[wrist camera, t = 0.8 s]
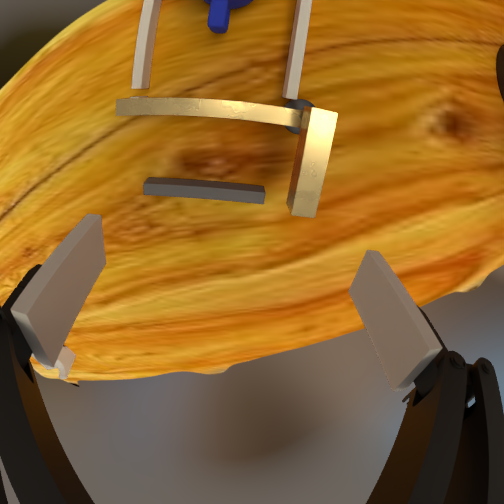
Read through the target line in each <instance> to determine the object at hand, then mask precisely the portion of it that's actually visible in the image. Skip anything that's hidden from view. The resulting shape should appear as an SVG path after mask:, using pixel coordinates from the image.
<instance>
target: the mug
mask: <svg viewBox="0 0 504 504" xmlns="http://www.w3.org/2000/svg"><path fill="white" fill-rule="evenodd" d="M204 1H205V2H206V3H208V4H209V5H210V10H209V16H208V27H209V28H210V30H211V31H212V32H214V33H226V32H227V29H228V24H229V17H230V9H237V8H240V7H243V6H245V5H247V4H249V3H250V2H252V1H253V0H204Z"/></svg>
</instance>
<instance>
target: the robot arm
mask: <svg viewBox="0 0 504 504" xmlns="http://www.w3.org/2000/svg"><path fill="white" fill-rule="evenodd" d="M497 77H498V83H499V87H500V91H501V94H502V97H503V100H504V45H503V46H502V47H501V48H500V50H499V53H498V57H497ZM105 264H106V259H105V251H104V242H103V232H102V219H101V215H96V214H87V215H86V216H85V217H84V218H83V219H82V220H81V221H80V222H79V223H78V224H77V225H76V227H75V228H74V229H73V230H72V231H71V232H70V233H69V234H68V235H67V236H66V238H65V239H64V240H63V241H62V242H61V243H60V244H59V246H58V247H57V248H56V249H55V250H54V252H53V253H52V254H51V255H50V256H49V258H48V259H47V260H46V261H45V263H44V264H43V265H40V264H38V265H36V266H35V267H33V268H32V269H30V270H29V271H28V272H27V274H26V275H25V276H24V277H23V279H22V281H20V283H19V284H18V285H17V287H16V288H15V289H14V291H13V292H12V293H11V295H10V296H9V298H8V299H7V300H6V302H5V303H4V305H3V306H2V308H1V306H0V456H1V459H2V462H3V465H4V468H5V470H6V473H7V475H8V478H9V480H10V482H11V485H12V487H13V489H14V492H15V493H16V496H17V498H18V500H19V502H20V504H95V503H94V502H93V500H92V499H91V497H90V496H89V494H88V493H87V491H86V490H85V488H84V486H83V485H82V483H81V481H80V480H79V478H78V476H77V474H76V472H75V471H74V469H73V467H72V465H71V463H70V461H69V460H68V458H67V456H66V454H65V452H64V450H63V447H62V445H61V443H60V441H59V439H58V437H57V435H56V432H55V430H54V427H53V425H52V423H51V420H50V418H49V415H48V413H47V410H46V407H45V405H44V402H43V399H42V396H41V393H40V390H39V388H38V384H37V381H36V378H35V374H34V370H33V367H32V364H31V362H30V360H29V359H30V357H31V355H32V353H33V354H34V356H35V358H36V360H37V361H38V362H39V363H42V364H45V365H48V366H50V367H53V368H54V365H55V363H56V361H57V358H58V356H59V354H60V351H61V349H62V347H63V345H64V343H65V340H66V338H67V336H68V334H69V332H70V330H71V328H72V326H73V323H74V321H75V319H76V317H77V315H78V313H79V311H80V310H81V308H82V306H83V304H84V302H85V300H86V298H87V296H88V294H89V293H90V291H91V289H92V287H93V285H94V283H95V282H96V280H97V278H98V276H99V275H100V273H101V271H102V269H103V268H104V266H105ZM349 293H350V296H351V298H352V300H353V302H354V304H355V306H356V308H357V310H358V313H359V315H360V317H361V319H362V321H363V323H364V326H365V328H366V330H367V332H368V335H369V337H370V339H371V341H372V344H373V346H374V348H375V351H376V353H377V355H378V358H379V360H380V362H381V365H382V367H383V370H384V372H385V374H386V377H387V380H388V382H389V385H390V387H391V390H392V391H393V392H394V391H400V390H405V389H406V388H407V387H408V386H409V385H410V384H411V383H412V382H413V381H414V383H415V385H416V387H415V388H414V389H413V390H412V391H411V392H410V393H409V394H408V395H407V396H406V397H405V398H404V399H403V400H402V402H405V401H406V400H407V399H408V398H410V399H409V402H408V403H407V408H406V412H405V415H404V418H403V421H402V424H401V426H400V429H399V432H398V435H397V437H396V440H395V443H394V445H393V448H392V450H391V452H390V455H389V457H388V460H387V462H386V464H385V466H384V469H383V471H382V473H381V475H380V477H379V480H378V481H377V483H376V485H375V487H374V489H373V491H372V493H371V495H370V497H369V499H368V501H367V503H366V504H504V414H503V407H502V402H501V396H500V391H499V386H498V382H497V377H496V374H495V370H494V367H493V366H492V364H491V362H490V361H489V360H487V359H485V358H479V359H478V360H477V361H476V362H475V363H474V364H473V365H472V364H467V363H466V362H465V360H464V358H463V357H462V356H461V355H460V354H458V353H457V352H455V351H448V350H447V348H446V347H445V345H444V343H443V342H442V340H441V338H440V337H439V335H438V333H437V332H436V330H435V329H434V327H433V325H432V323H430V320H429V319H428V317H427V316H426V314H425V313H424V312H423V311H422V310H421V309H420V308H419V307H418V306H417V305H416V304H415V302H414V301H413V299H412V298H411V296H410V295H409V293H408V292H407V290H406V289H405V287H404V286H403V284H402V283H401V282H400V280H399V279H398V277H397V276H396V274H395V273H394V272H393V270H392V269H391V267H390V266H389V265H388V263H387V262H386V261H385V259H384V258H383V257H382V255H381V254H380V252H378V251H372V250H367V251H366V253H365V256H364V258H363V260H362V263H361V265H360V267H359V269H358V272H357V274H356V276H355V278H354V280H353V283H352V285H351V287H350V289H349ZM474 397H475V403H474V404H473V405H472V406H471V407H469V408H468V402H469V401H471V400H472V398H474ZM0 504H8V501H7V498H6V494H5V490H4V486H3V481H2V476H1V471H0Z"/></svg>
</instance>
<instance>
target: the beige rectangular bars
mask: <svg viewBox="0 0 504 504" xmlns="http://www.w3.org/2000/svg"><path fill="white" fill-rule="evenodd" d="M161 2H162V0H144V3H143V8H142V13H141V19H140V24H139V30H138V36H137V43H136V50H135V58H134V67H133V76H132V87H131V89H142V88H149V83H150V73H151V64H152V56H153V49H154V42H155V35H156V29H157V23H158V18H159V12H160V7H161ZM311 5H312V0H297V3H296V10H295V16H294V23H293V29H292V36H291V42H290V49H289V55H288V62H287V68H286V74H285V81H284V87H283V93H282V97H283V98H289V99H295V100H297V95H298V89H299V83H300V77H301V71H302V64H303V58H304V52H305V45H306V39H307V32H308V25H309V19H310V12H311ZM146 97H148V96H137V97H130V98H146Z"/></svg>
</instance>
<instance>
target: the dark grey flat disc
mask: <svg viewBox="0 0 504 504" xmlns="http://www.w3.org/2000/svg"><path fill="white" fill-rule="evenodd" d="M304 106H309V107H314V108H315V106H314V105H313V104H312V103H311V102H309V101H307V100H303V99H297V100H295V99H294V100H291V101H289V102H287V103H286V104H285V105H284V107H286V108H292V109H297V110H298V109H304ZM284 126H285V127H286V128H287V129H288V130H289V131H291V132H293V133H295V134H299V133H300V128H298V127H292V126H286V125H284Z"/></svg>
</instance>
